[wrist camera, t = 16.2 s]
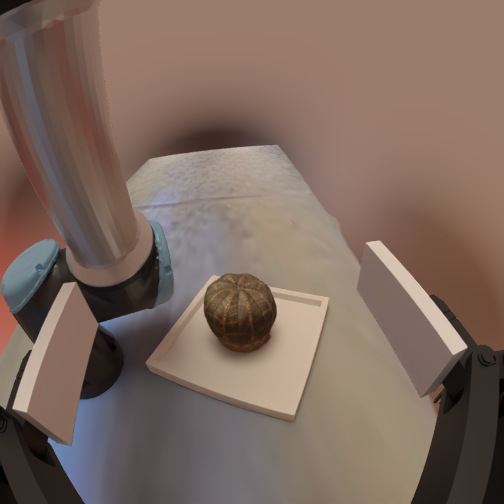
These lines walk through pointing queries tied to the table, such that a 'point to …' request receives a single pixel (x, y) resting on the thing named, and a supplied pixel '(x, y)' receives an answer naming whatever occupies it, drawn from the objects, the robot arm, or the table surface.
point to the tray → (246, 356)
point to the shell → (240, 311)
